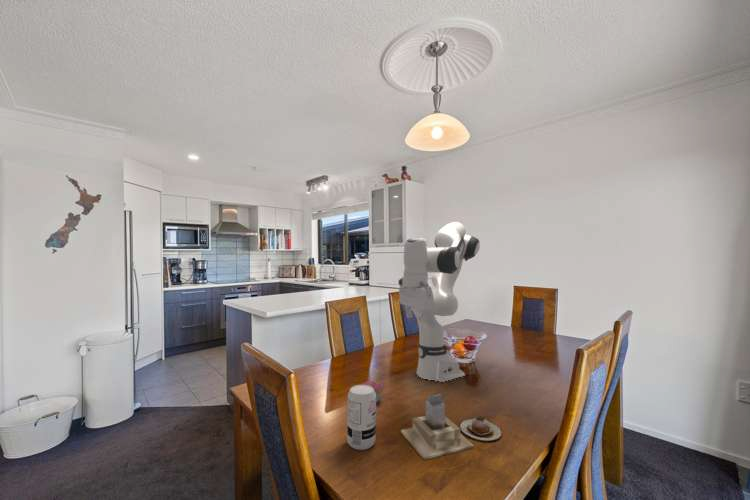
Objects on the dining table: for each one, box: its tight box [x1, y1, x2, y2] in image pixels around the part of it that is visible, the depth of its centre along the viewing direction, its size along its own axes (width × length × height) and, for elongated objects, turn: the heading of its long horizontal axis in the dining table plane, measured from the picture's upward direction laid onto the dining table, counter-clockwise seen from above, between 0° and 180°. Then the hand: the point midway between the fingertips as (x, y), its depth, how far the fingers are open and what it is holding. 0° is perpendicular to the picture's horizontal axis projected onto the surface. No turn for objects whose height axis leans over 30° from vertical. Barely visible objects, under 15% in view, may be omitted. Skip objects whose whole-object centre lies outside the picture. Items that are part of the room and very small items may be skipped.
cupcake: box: [361, 370, 384, 403], centre depth 114 cm, size 9×8×12 cm
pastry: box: [459, 415, 502, 443], centre depth 94 cm, size 12×12×5 cm
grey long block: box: [425, 393, 446, 431], centre depth 89 cm, size 4×4×12 cm
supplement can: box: [346, 384, 377, 451], centre depth 87 cm, size 8×8×15 cm
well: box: [400, 415, 475, 461], centre depth 89 cm, size 16×14×5 cm
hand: (415, 319), depth 110 cm, fingers open, 8 cm apart
